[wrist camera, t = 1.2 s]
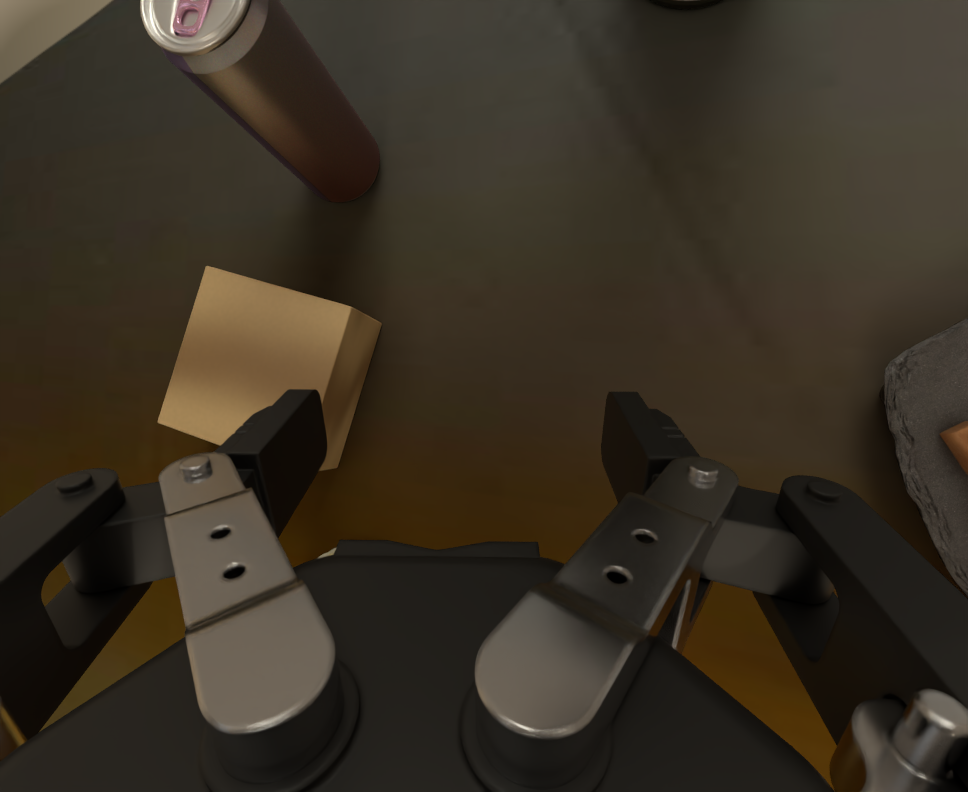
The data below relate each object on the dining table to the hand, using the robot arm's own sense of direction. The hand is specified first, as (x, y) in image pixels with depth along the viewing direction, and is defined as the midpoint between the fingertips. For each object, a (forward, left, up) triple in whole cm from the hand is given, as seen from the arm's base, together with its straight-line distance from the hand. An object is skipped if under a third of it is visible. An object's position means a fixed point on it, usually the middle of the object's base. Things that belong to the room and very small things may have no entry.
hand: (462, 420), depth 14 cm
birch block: (+2, -18, -20) cm, 26 cm away
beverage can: (-14, -19, -20) cm, 31 cm away
